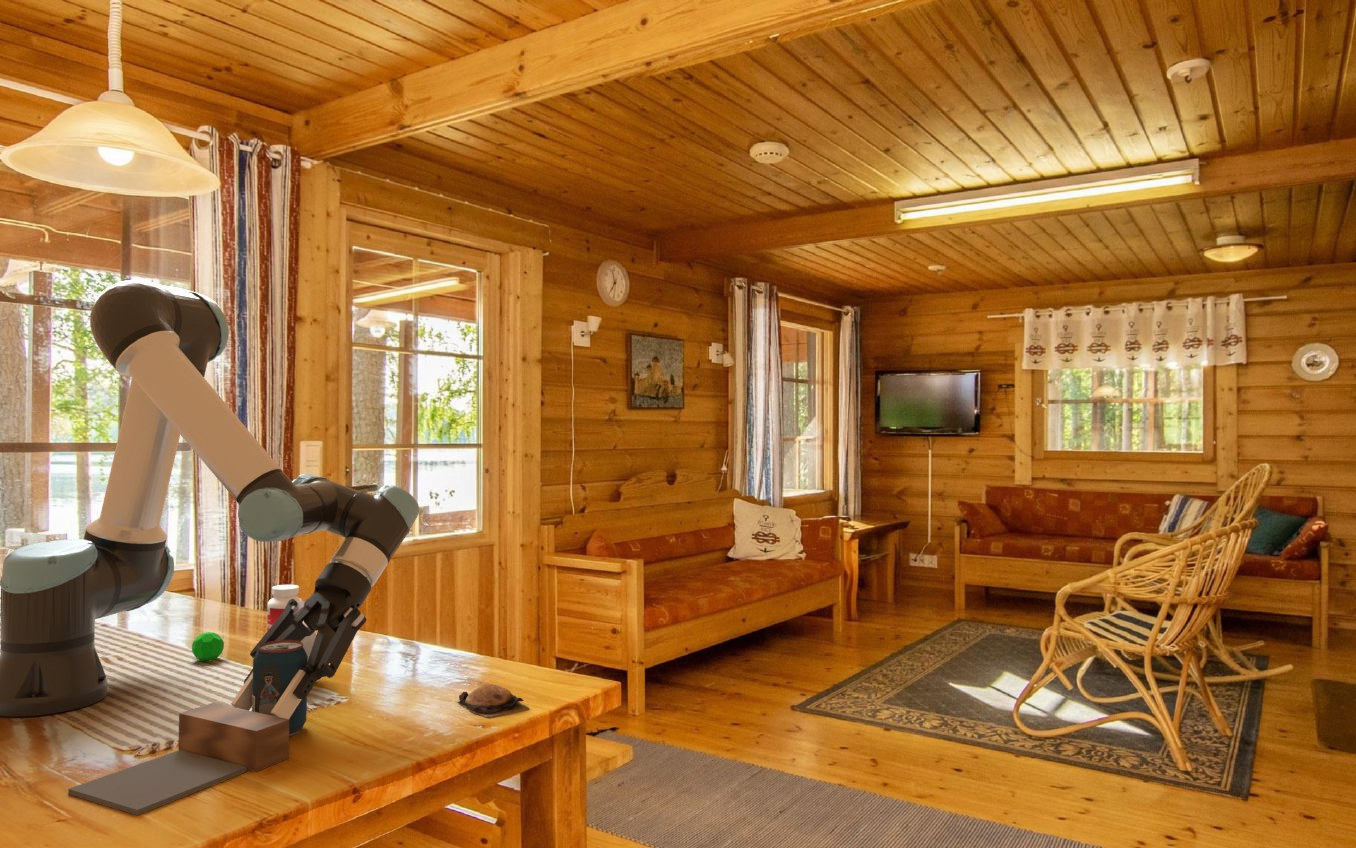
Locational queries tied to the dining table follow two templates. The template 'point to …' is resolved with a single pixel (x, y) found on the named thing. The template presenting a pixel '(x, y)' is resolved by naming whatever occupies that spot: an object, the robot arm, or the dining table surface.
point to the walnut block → (234, 735)
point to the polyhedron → (207, 646)
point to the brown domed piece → (491, 701)
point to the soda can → (278, 678)
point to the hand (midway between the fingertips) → (258, 713)
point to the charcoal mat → (157, 781)
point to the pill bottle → (280, 601)
